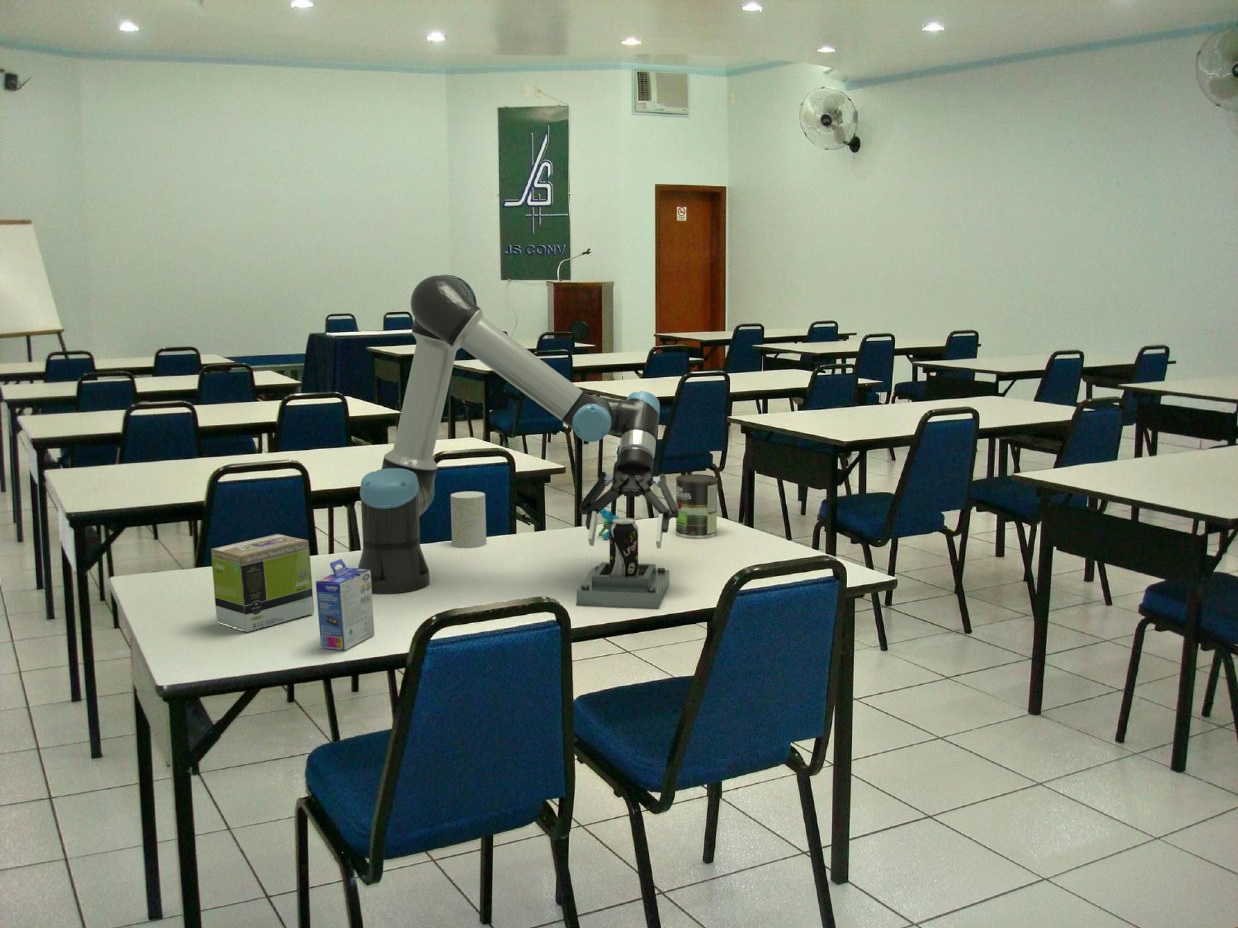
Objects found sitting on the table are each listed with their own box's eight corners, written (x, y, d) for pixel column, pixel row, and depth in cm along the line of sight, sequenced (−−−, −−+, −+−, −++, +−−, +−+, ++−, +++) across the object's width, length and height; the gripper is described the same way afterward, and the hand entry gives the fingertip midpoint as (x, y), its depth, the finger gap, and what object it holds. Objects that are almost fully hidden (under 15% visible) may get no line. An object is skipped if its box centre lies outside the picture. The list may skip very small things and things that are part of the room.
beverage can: (621, 583, 228) (621, 524, 226) (603, 577, 233) (603, 519, 231) (644, 578, 232) (644, 520, 230) (626, 573, 236) (626, 515, 234)
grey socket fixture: (593, 581, 243) (593, 557, 242) (669, 583, 240) (669, 560, 239) (576, 605, 225) (576, 580, 224) (658, 608, 223) (658, 583, 222)
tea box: (283, 605, 226) (279, 531, 224) (315, 615, 220) (311, 539, 217) (214, 624, 215) (209, 546, 212) (245, 634, 208) (240, 554, 206)
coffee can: (689, 540, 279) (689, 482, 277) (667, 532, 288) (668, 476, 286) (725, 535, 284) (726, 479, 281) (703, 527, 293) (703, 472, 290)
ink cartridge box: (349, 631, 210) (345, 553, 207) (376, 634, 208) (372, 556, 205) (317, 648, 200) (313, 567, 198) (345, 651, 199) (341, 569, 196)
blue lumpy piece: (641, 534, 278) (612, 507, 275) (626, 553, 277) (597, 526, 274) (623, 531, 289) (595, 505, 286) (609, 549, 287) (581, 523, 284)
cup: (446, 546, 274) (444, 496, 272) (460, 539, 282) (459, 490, 280) (478, 548, 272) (476, 498, 270) (491, 541, 279) (490, 492, 277)
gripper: (696, 469, 244) (688, 555, 231) (580, 465, 248) (566, 550, 236) (694, 448, 237) (685, 535, 225) (575, 445, 242) (560, 531, 230)
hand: (624, 543), depth 230 cm, fingers open, 13 cm apart
